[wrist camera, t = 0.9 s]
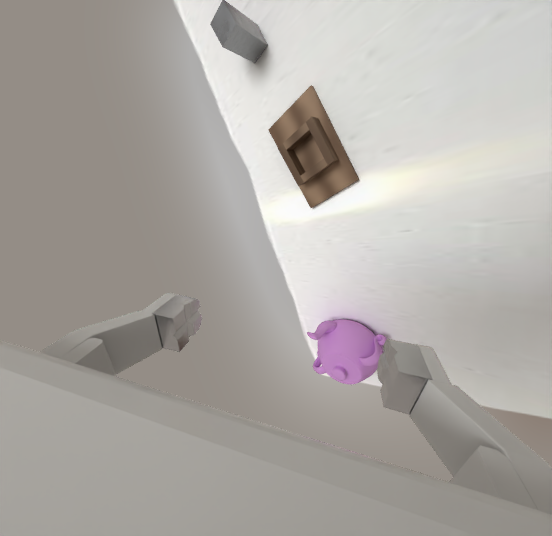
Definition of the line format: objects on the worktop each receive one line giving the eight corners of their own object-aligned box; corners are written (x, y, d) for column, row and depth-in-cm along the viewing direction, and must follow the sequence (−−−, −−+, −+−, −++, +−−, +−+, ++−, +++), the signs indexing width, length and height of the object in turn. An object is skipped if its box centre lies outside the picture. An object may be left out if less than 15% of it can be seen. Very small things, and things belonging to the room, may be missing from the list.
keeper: (313, 86, 43) (303, 81, 40) (359, 179, 46) (354, 181, 42) (270, 130, 51) (259, 128, 47) (312, 207, 54) (305, 211, 50)
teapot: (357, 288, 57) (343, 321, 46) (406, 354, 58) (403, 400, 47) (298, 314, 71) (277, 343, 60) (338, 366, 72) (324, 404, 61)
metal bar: (257, 24, 43) (223, -1, 36) (267, 44, 44) (236, 23, 36) (245, 44, 46) (210, 24, 38) (254, 63, 47) (222, 46, 39)
